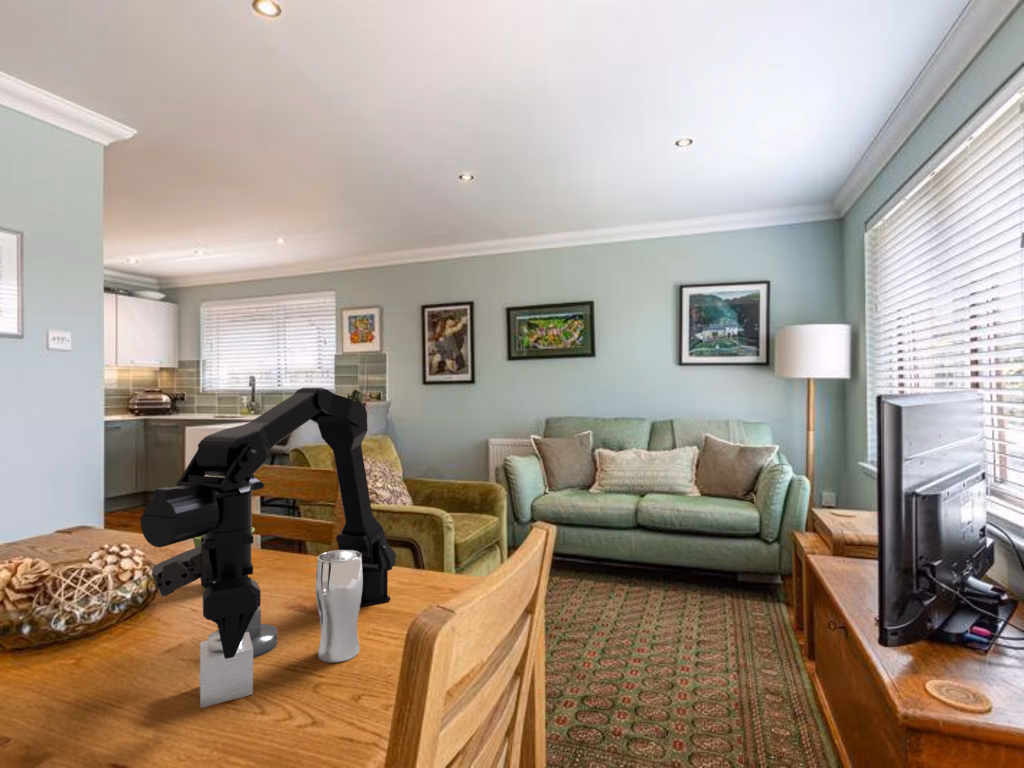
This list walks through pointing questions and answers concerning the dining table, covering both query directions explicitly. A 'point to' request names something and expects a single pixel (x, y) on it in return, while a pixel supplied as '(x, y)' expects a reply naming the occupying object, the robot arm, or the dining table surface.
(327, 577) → the beer glass
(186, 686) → the dining table surface
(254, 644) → the ratchet
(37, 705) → the dining table surface
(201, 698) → the cube with round boss
